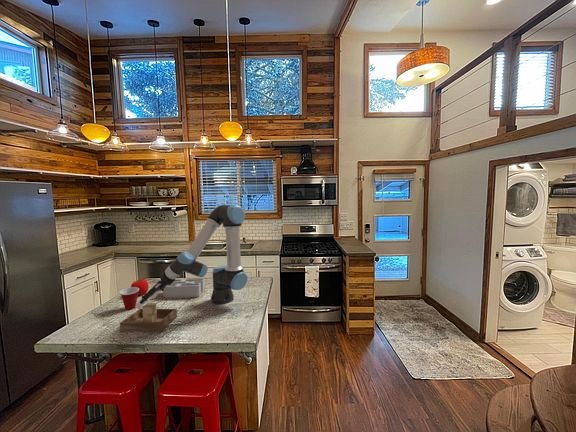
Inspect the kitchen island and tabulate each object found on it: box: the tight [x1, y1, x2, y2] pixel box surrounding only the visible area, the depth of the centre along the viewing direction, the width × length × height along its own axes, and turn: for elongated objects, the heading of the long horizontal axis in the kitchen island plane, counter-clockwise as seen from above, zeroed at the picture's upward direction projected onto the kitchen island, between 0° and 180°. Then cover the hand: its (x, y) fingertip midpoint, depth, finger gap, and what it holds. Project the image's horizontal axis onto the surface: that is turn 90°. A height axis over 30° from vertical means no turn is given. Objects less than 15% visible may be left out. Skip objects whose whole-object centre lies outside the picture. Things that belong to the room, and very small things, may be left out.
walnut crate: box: [119, 308, 178, 333], centre depth 150 cm, size 18×22×5 cm
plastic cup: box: [119, 286, 139, 311], centre depth 172 cm, size 11×11×12 cm
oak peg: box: [141, 302, 158, 322], centre depth 150 cm, size 5×5×10 cm
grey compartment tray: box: [161, 278, 206, 299], centre depth 197 cm, size 17×28×9 cm, turn 93°
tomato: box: [130, 279, 150, 296], centre depth 197 cm, size 12×12×11 cm
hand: (144, 301), depth 149 cm, fingers open, 13 cm apart
